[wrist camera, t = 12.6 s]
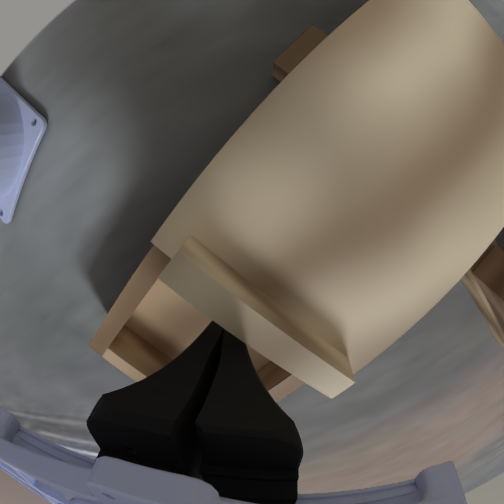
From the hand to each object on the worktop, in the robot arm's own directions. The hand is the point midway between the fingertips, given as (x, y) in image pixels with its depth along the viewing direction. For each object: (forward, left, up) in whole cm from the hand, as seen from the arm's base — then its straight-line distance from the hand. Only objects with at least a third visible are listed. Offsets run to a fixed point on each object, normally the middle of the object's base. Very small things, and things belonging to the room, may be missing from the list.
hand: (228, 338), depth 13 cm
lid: (0, +10, 0) cm, 10 cm away
